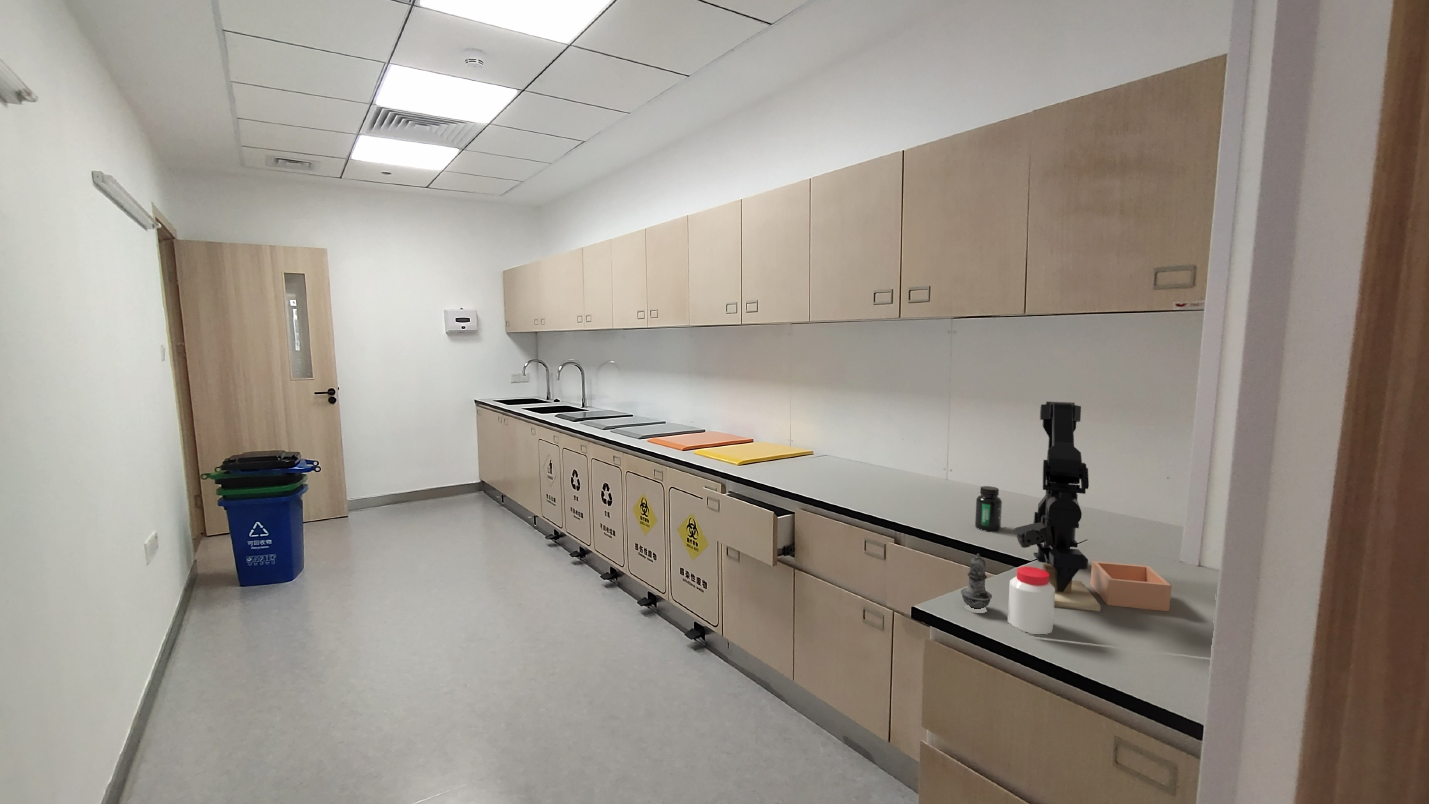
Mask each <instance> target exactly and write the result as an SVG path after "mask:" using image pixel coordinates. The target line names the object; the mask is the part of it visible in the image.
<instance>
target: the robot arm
mask: <svg viewBox="0 0 1429 804" xmlns="http://www.w3.org/2000/svg"><path fill="white" fill-rule="evenodd" d="M1039 408H1040V410H1039V420H1040V421H1042V428H1043V430H1044V431H1045V432H1046V436H1048V442H1047V443H1048V444H1047V455H1046V459H1043V461H1042V491H1043V490H1044V491H1045V494H1044V496H1043V498H1042V499H1041V500H1040V501H1039V502H1038V504H1037V511H1034V515H1033V523H1029V524H1026V525H1021V526H1018V527H1015V528H1014V529H1013V530H1014V534H1015V536H1016V539H1017V542H1018V544H1019V545H1020V547H1021V548H1023V549H1025V548H1026V549H1028V548H1030V547H1031V546H1037V552H1033V556H1034V557H1035V559H1036V560H1037V562H1038V563H1046V564H1051V565H1052V566H1053V567H1054V569H1055V578H1056V586H1057V591H1059V592H1063V591H1064V590H1065V589H1066V587H1067V586H1068V584H1069V583H1070V581H1071V580H1073V578H1074V577H1075V576H1076V574H1078V572H1079V570H1087V569H1089V568H1088V567H1089V559H1088V558H1087V557H1086V555H1084V553H1083V552H1082V551H1081V550H1079V549H1077V548H1078V545H1079V543H1078V541H1077V540H1076V529H1079V528H1080V521H1081V519H1082V517H1083V516H1082V515H1083V513H1082V510H1081V507H1080V503H1079V501H1078V498H1079V497H1078V495H1079V494H1083V495H1086V490H1088V489H1089V487H1090V486H1089V467H1087V464H1086V463H1085V462H1083V461H1082V459H1083V458H1082V452H1081V451H1080V450H1079V449H1078V448H1077V447H1075V438H1074V436H1075V435H1074V434H1075V433H1074V432H1075V431H1076V429H1077V423H1080V422H1081V421H1082V420H1081V417H1082V416H1081V415H1082V406H1081V405H1076V404H1075V402H1071V401H1070V402H1066V401H1046V403H1045V404H1040V407H1039Z"/></svg>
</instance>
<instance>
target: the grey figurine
mask: <svg viewBox="0 0 1429 804" xmlns="http://www.w3.org/2000/svg"><path fill="white" fill-rule="evenodd" d="M980 556H981V554H980V553H977V554H976V556H973V557H972V558H971V559H970V561H969V572H967V576H968V585H967V587H965V588H963V589H961V590H960V594H961V596H962V600H963V602H964V603H965V605H966V604H967V605H969V606H970V607H971V608H974V609H981V608H984V607H985V608H987V606H989V604H990V602H991V599H992V598H993V595H992V594H991V592H989V591H987V590H986V579H987V578H988V576H987V575H986V561H985V559H984V558H982V557H980Z"/></svg>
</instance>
